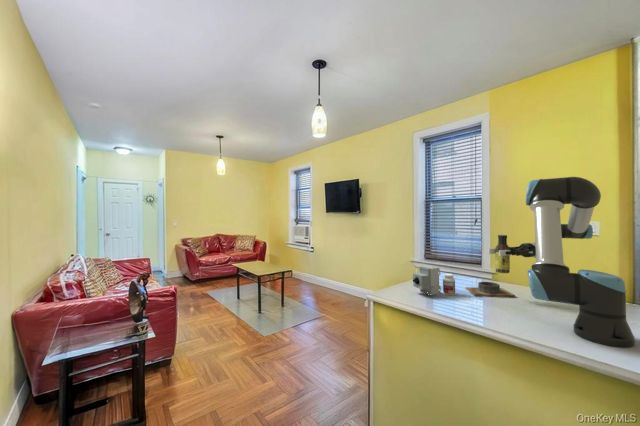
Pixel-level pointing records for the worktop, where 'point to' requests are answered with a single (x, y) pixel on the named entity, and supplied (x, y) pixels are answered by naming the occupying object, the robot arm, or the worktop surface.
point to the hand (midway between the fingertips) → (494, 252)
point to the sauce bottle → (502, 261)
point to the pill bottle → (449, 284)
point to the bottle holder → (489, 290)
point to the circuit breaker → (427, 279)
